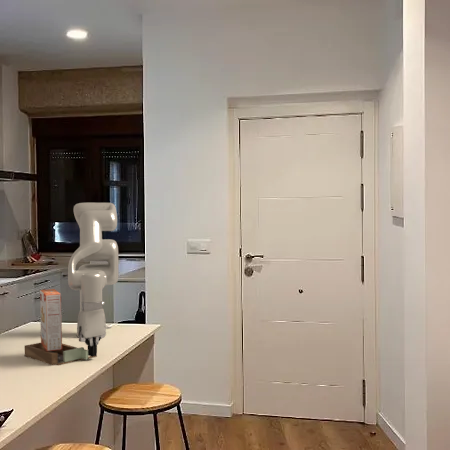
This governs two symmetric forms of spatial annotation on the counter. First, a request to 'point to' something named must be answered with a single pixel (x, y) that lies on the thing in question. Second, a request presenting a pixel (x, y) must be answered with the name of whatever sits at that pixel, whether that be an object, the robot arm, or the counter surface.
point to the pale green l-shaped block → (75, 354)
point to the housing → (48, 354)
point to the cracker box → (51, 319)
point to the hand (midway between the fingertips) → (92, 355)
